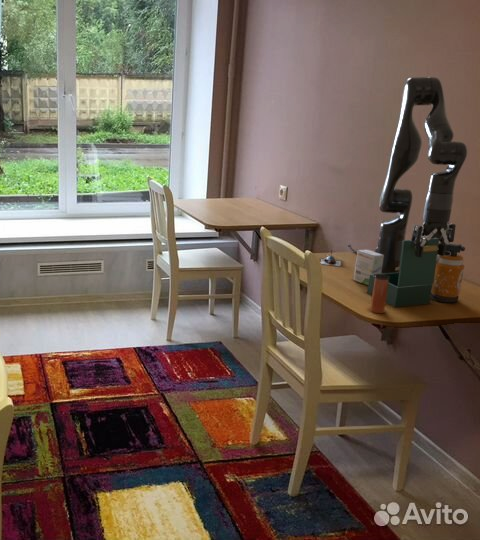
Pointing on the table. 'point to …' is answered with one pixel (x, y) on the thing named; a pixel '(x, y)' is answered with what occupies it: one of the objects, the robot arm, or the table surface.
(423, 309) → the table surface
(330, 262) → the bomb figurine
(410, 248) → the lid
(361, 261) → the ink box
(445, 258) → the canister
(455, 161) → the robot arm
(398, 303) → the chest
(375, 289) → the jar
